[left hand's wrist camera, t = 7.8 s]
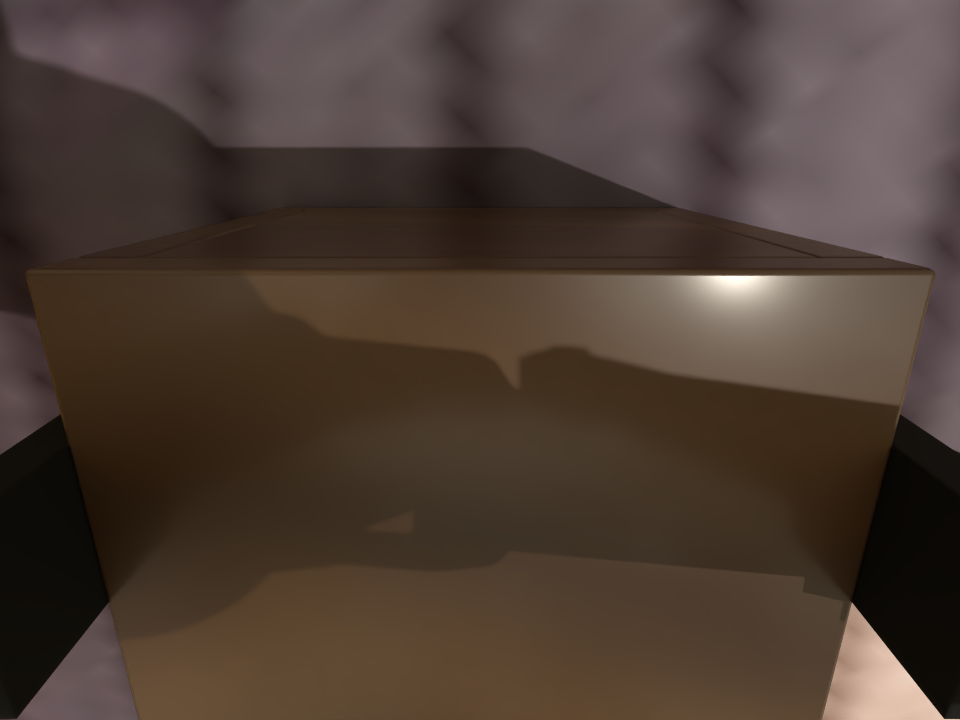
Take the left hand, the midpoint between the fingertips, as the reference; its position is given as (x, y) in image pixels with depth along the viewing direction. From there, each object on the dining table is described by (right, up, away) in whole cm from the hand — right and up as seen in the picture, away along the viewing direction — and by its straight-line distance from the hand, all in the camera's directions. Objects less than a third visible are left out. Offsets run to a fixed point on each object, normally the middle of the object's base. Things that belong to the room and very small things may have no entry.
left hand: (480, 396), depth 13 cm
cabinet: (0, -5, +7) cm, 9 cm away
